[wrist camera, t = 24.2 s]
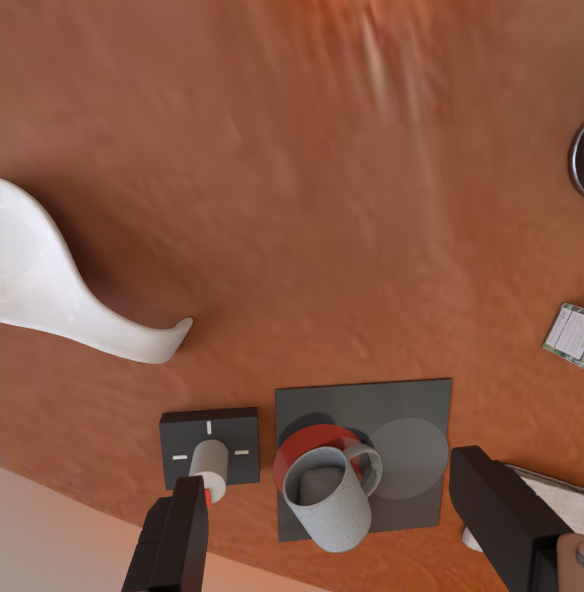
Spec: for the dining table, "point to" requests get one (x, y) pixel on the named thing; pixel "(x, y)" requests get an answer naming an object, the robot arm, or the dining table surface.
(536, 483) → the washcloth
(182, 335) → the spoon rest
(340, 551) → the ceramic mug
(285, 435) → the hob
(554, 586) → the robot arm
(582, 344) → the syrup box
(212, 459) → the hob knob
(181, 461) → the control box
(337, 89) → the dining table surface
